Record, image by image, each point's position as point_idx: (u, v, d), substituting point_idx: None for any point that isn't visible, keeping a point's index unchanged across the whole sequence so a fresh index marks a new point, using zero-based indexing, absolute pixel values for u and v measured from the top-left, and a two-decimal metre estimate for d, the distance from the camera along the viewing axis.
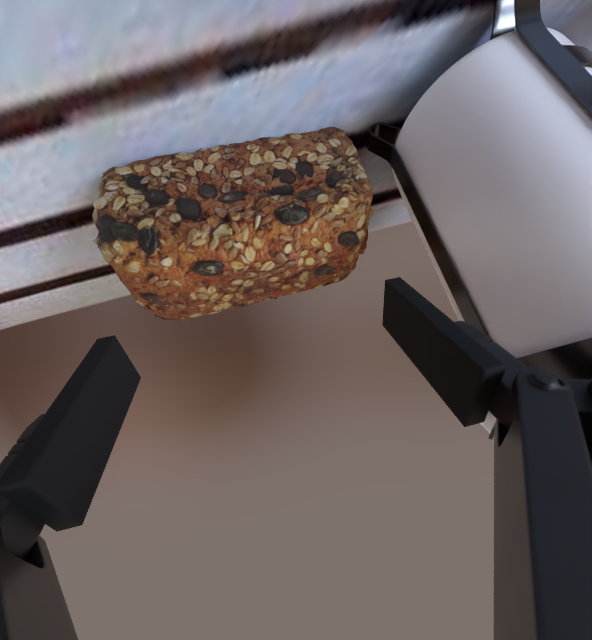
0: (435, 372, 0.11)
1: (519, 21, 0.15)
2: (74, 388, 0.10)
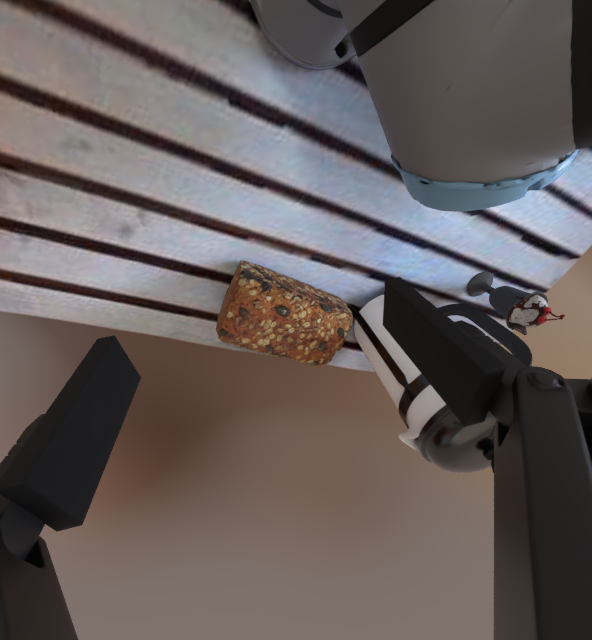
0: (435, 373, 0.11)
1: None
2: (74, 388, 0.10)
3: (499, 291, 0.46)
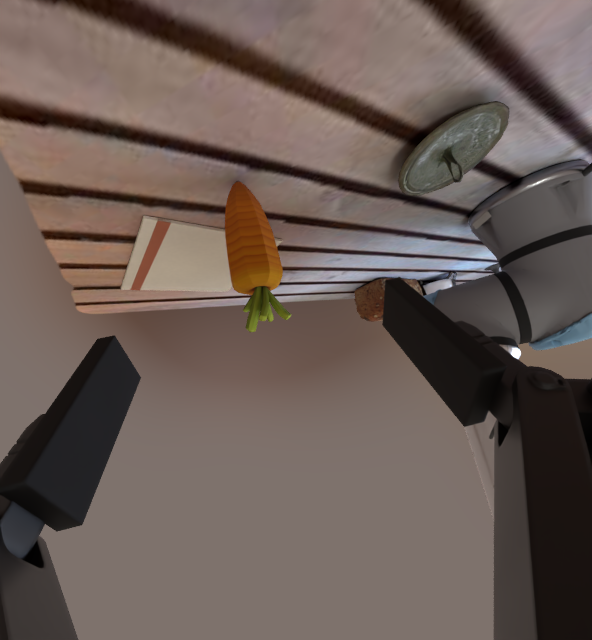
0: (435, 372, 0.11)
1: (452, 280, 0.81)
2: (74, 388, 0.10)
3: None
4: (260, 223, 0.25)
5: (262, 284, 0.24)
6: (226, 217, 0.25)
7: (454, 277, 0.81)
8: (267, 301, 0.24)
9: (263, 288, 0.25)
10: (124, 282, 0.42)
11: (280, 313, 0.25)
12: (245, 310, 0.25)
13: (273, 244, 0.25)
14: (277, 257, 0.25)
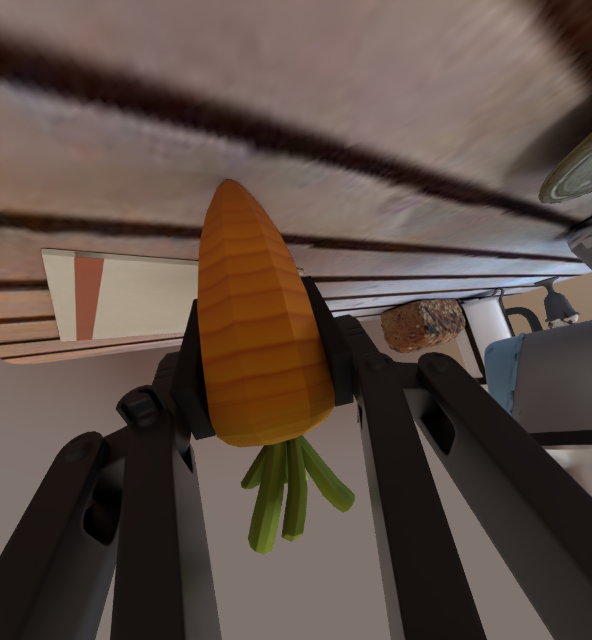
0: None
1: (499, 298, 0.66)
2: (195, 331, 0.12)
3: (556, 300, 0.68)
4: (283, 281, 0.10)
5: (289, 439, 0.10)
6: (201, 264, 0.11)
7: (502, 295, 0.66)
8: (302, 481, 0.10)
9: (289, 439, 0.10)
10: (61, 334, 0.27)
11: (331, 498, 0.10)
12: (247, 488, 0.10)
13: (312, 328, 0.11)
14: (322, 361, 0.10)
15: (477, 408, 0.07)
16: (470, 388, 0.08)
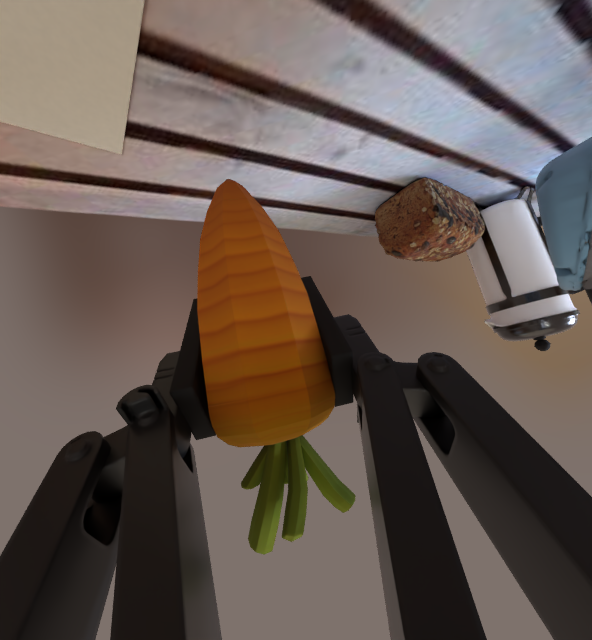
0: None
1: (527, 199, 0.51)
2: (195, 331, 0.12)
3: None
4: (283, 281, 0.10)
5: (289, 439, 0.10)
6: (201, 264, 0.11)
7: (531, 194, 0.51)
8: (302, 482, 0.10)
9: (289, 439, 0.10)
10: None
11: (331, 499, 0.10)
12: (247, 488, 0.10)
13: (312, 328, 0.11)
14: (322, 361, 0.10)
15: (477, 408, 0.07)
16: (470, 388, 0.08)
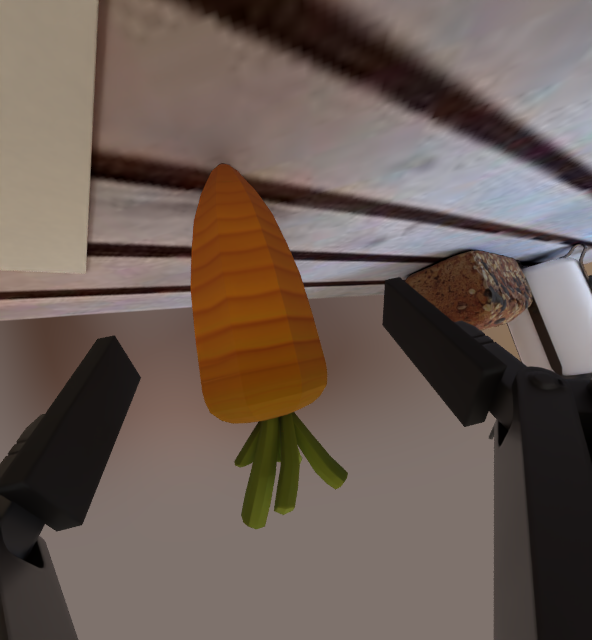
0: (435, 373, 0.11)
1: (580, 259, 0.44)
2: (74, 388, 0.10)
3: None
4: (275, 260, 0.10)
5: (281, 415, 0.10)
6: (194, 245, 0.11)
7: (584, 253, 0.44)
8: (294, 457, 0.10)
9: (282, 416, 0.10)
10: None
11: (324, 475, 0.10)
12: (240, 465, 0.11)
13: (305, 307, 0.11)
14: (315, 339, 0.11)
15: None
16: None
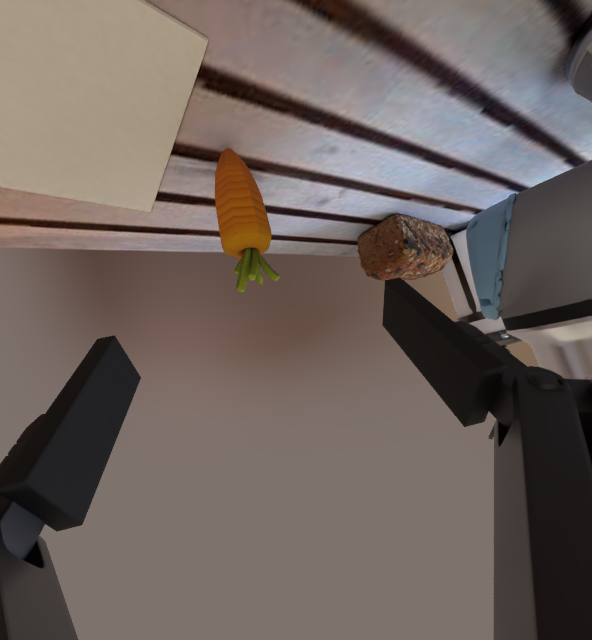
0: (435, 373, 0.11)
1: None
2: (74, 388, 0.10)
3: None
4: (249, 186, 0.25)
5: (251, 245, 0.25)
6: (216, 181, 0.26)
7: None
8: (256, 261, 0.25)
9: (252, 250, 0.25)
10: None
11: (269, 274, 0.25)
12: (235, 272, 0.26)
13: (262, 207, 0.26)
14: (266, 220, 0.26)
15: None
16: None
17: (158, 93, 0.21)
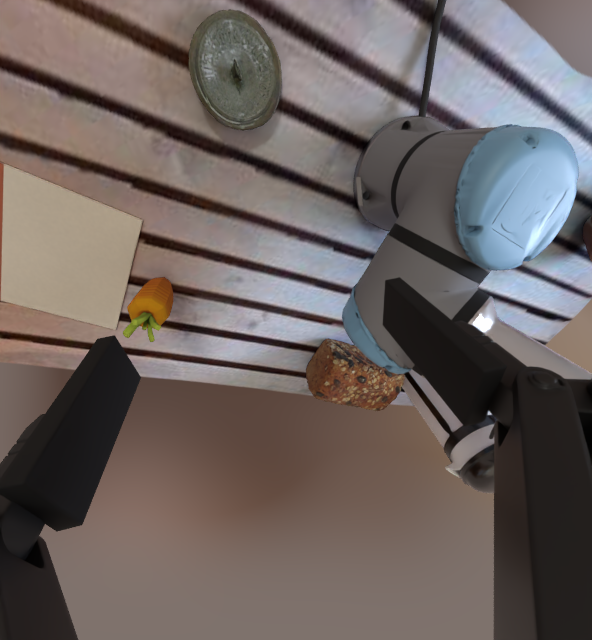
0: (435, 372, 0.11)
1: None
2: (74, 388, 0.10)
3: None
4: (161, 284, 0.39)
5: (145, 308, 0.35)
6: None
7: None
8: (144, 316, 0.34)
9: (147, 313, 0.35)
10: None
11: (152, 325, 0.33)
12: None
13: (166, 294, 0.38)
14: (164, 298, 0.37)
15: None
16: None
17: (118, 245, 0.40)
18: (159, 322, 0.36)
